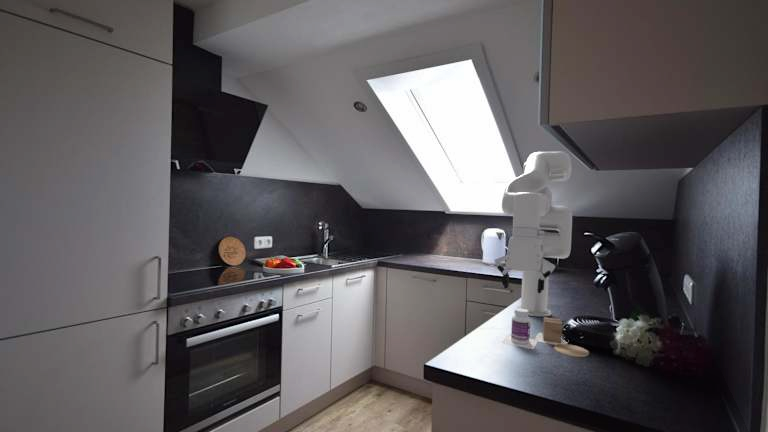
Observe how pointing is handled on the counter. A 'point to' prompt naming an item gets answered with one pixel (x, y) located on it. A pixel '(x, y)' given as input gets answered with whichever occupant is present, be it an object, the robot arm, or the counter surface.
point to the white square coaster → (529, 345)
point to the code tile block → (540, 339)
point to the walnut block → (552, 330)
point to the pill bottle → (520, 327)
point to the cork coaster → (571, 350)
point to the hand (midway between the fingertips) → (522, 290)
